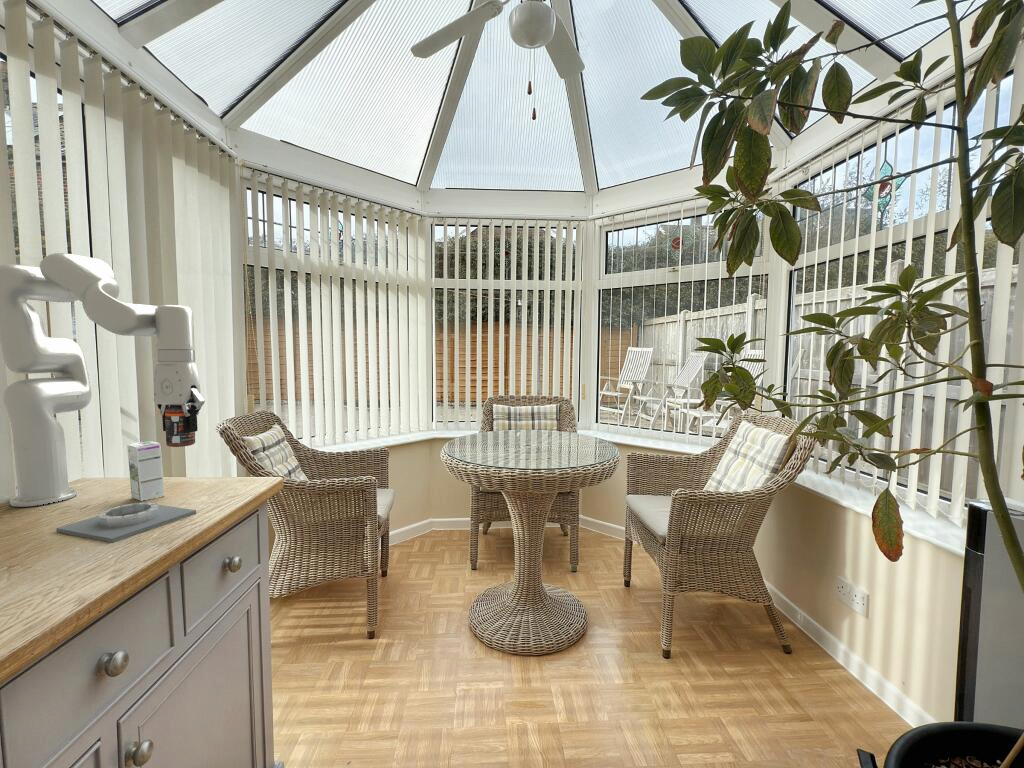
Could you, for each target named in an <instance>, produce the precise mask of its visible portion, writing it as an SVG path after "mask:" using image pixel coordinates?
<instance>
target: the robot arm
mask: <svg viewBox="0 0 1024 768" xmlns="http://www.w3.org/2000/svg"><path fill="white" fill-rule="evenodd" d="M119 294H120V286H119V284H118V282H117V280H115V273H114V271H113V269H112V267H111V266H110V265H109V264H108V263H107V262H105V261H103V260H101V259H99V258H95V257H90V256H83V255H78V254H72V253H68V252H67V253H66V252H56V253H55V252H54V253H51V254H48V255H46V256H44V257H43V258H42V259H41V261H40V264H39V266H33V265H27V264H15V263H9V264H8V263H5V264H0V349H1V354H2V357H3V361H4V363H5V366H6V368H7V369H8V370H9V371H11V372H13V373H16V374H21V375H22V374H24V375H25V374H26V375H27V374H29V375H31V374H32V375H33V374H48V373H49V374H50V373H52V374H53V376H54V377H39V378H37V377H36V378H27V379H26V378H25V379H20V380H18V381H14V382H12V383H11V384H9V385H8V386H6V388H5V389H4V392H3V394H2V395H3V397H2V398H3V403H4V407H5V409H6V412H7V414H8V418H9V422H10V427H11V433H12V443H13V453H14V464H15V465H14V466H15V476H16V486H15V489H16V490H17V496H15V497H13V498H11V499H9V505H10V506H11V507H15V508H18V507H19V508H25V507H35V506H36V507H37V505H38V506H43V504H44V505H48V503H50V504H54V503H53V502H55V503H59V502H62V500H63V501H66V500H69V499H72V498H74V497H75V495H76V496H77V494H78V490H77V489H75V488H71V487H69V477H68V475H69V474H68V464H67V463H68V462H67V453H66V452H67V450H66V440H65V439H66V438H65V431H64V428H63V425H61V422H59V421H58V420H57V419H56V417H54V415H56V414H63V413H71V412H75V411H80V410H83V409H85V408H86V407H87V406H89V404H90V402H91V400H92V388H91V387H92V386H91V381H90V377H89V373H88V372H89V371H88V368H87V362H86V357H85V354H84V351H83V349H82V348H81V346H80V345H79V343H77V342H76V341H74V340H72V339H70V338H67V337H62V336H48V335H47V333H46V330H45V325H44V321H43V318H42V317H41V315H40V314H39V312H38V311H37V310H36V309H35V308H34V307H33V306H32V305H31V304H29V303H28V302H27V301H28V300H29V301H31V300H32V301H39V302H50V303H51V302H52V303H54V302H55V303H72V302H76V301H80V302H81V303H82V304H81V305H82V308H83V311H84V313H85V314H86V317H88V319H89V320H91V321H92V322H93V323H95V324H96V325H97V326H100V327H102V328H103V329H104V330H106V331H108V332H110V333H112V334H115V335H119V336H124V337H126V336H127V337H135V336H137V337H155V339H156V340H155V341H156V342H155V343H156V344H155V345H156V356H157V357H156V358H157V362H156V363H155V368H154V372H153V373H154V374H153V401H154V403H155V404H156V406H157V408H158V409H159V412H160V413H159V414H160V415H161V418H162V419H161V420H162V431H163V432H166V425H165V411H166V409H168V408H169V406H170V405H182V408H183V411H184V414H185V416H184V417H183V431H184V433H190V432H195V433H196V432H198V416H199V414H200V410H201V409H202V407H203V406H204V404H205V399H204V398H203V397H202V395H201V385H200V384H201V383H200V382H201V381H200V376H199V371H198V366H197V363H196V349H195V348H196V347H195V333H194V332H195V329H194V327H195V326H194V312H193V309H192V308H191V307H188V306H185V305H177V304H176V305H174V304H163V305H150V304H139V303H128V302H122V301H120V300H118V298H119ZM188 401H189V403H186V402H188ZM188 406H191V408H190V409H189V408H188ZM58 501H59V502H58Z"/></svg>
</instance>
